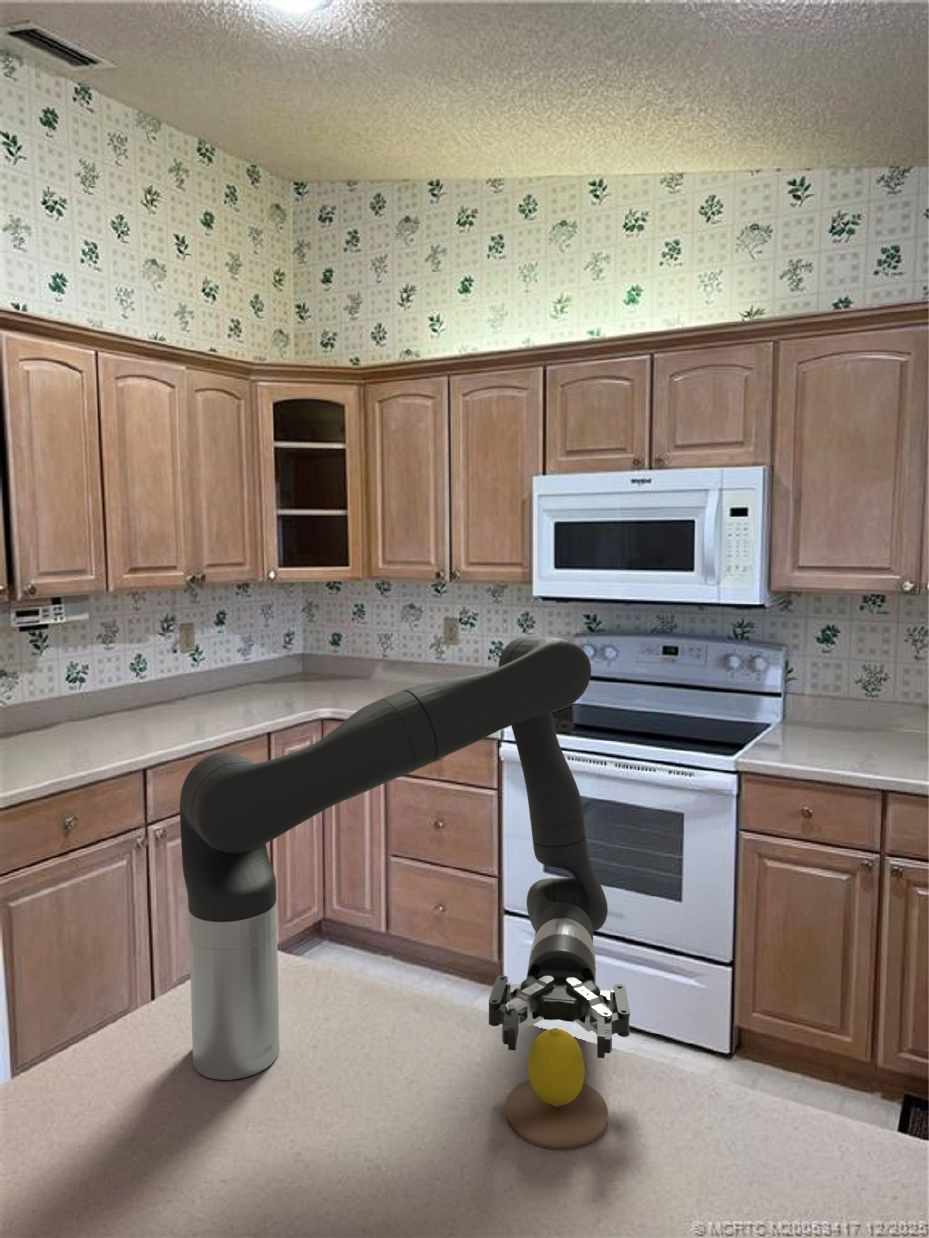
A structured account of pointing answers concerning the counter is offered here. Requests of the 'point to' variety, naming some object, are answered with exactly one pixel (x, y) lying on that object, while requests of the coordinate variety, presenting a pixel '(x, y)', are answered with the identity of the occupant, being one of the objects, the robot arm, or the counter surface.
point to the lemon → (556, 1067)
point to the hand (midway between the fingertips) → (556, 1045)
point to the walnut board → (556, 1118)
